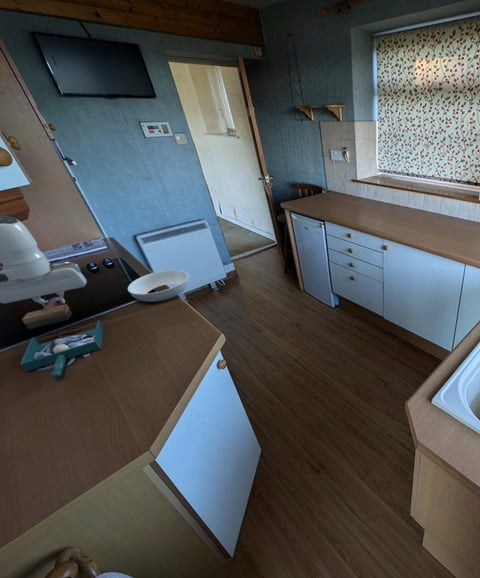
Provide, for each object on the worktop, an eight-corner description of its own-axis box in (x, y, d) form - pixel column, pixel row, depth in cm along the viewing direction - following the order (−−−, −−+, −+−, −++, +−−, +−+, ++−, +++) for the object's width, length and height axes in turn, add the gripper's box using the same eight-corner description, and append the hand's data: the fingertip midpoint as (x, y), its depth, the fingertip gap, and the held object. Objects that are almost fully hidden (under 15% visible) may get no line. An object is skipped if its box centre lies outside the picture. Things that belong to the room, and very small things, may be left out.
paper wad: (50, 345, 92) (59, 352, 94) (49, 352, 89) (58, 359, 92) (65, 339, 93) (73, 347, 96) (63, 347, 91) (72, 354, 93)
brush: (68, 319, 93) (62, 309, 92) (28, 329, 89) (21, 319, 87) (78, 302, 104) (73, 293, 103) (43, 310, 100) (37, 301, 98)
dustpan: (38, 345, 97) (31, 337, 95) (104, 327, 106) (99, 319, 104) (17, 395, 80) (9, 386, 78) (97, 368, 89) (91, 360, 87)
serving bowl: (190, 302, 120) (184, 287, 116) (128, 313, 113) (120, 298, 109) (196, 279, 136) (191, 265, 133) (142, 287, 129) (135, 274, 126)
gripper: (76, 256, 99) (96, 291, 106) (-15, 272, 88) (14, 309, 96) (73, 263, 94) (94, 299, 102) (-23, 281, 84) (8, 319, 91)
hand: (55, 304), depth 98 cm, fingers closed on brush, 2 cm apart
